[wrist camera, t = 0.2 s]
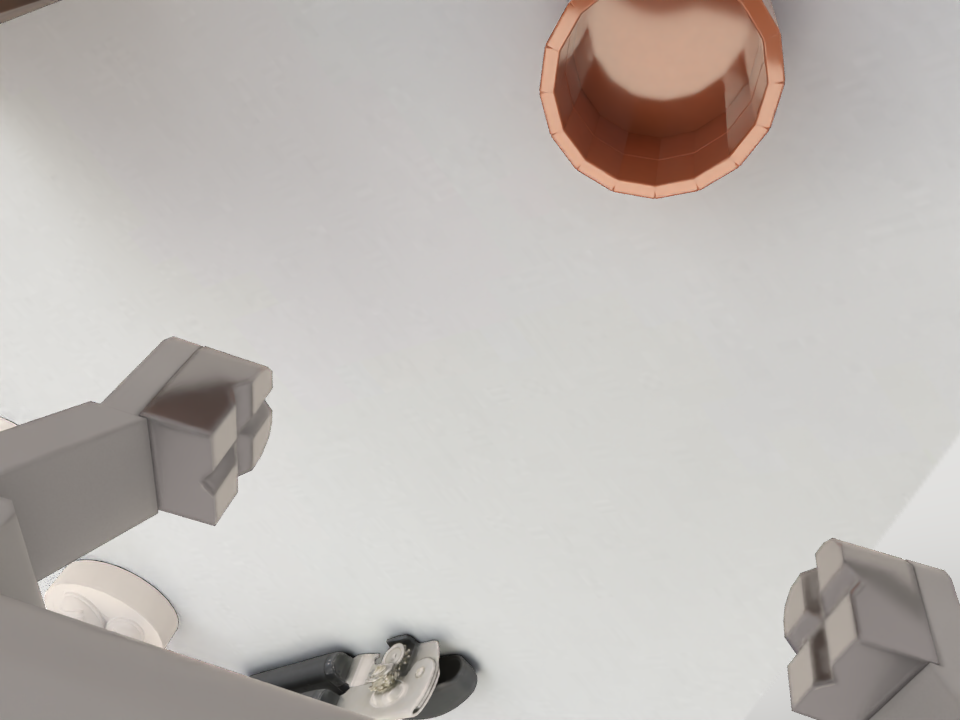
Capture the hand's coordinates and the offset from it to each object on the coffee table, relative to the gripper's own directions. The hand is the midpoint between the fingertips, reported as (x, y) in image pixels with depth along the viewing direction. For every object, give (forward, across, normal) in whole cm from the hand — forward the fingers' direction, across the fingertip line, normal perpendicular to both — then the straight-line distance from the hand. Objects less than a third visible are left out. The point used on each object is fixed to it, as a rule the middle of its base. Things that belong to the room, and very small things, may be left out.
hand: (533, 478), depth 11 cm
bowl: (+19, -1, -1) cm, 19 cm away
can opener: (+19, +6, +42) cm, 47 cm away
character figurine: (+19, +24, +44) cm, 53 cm away
